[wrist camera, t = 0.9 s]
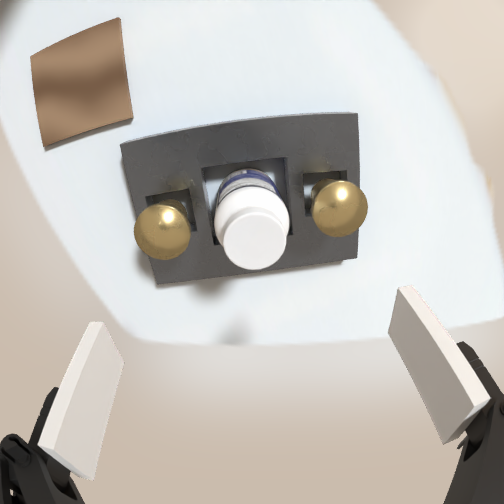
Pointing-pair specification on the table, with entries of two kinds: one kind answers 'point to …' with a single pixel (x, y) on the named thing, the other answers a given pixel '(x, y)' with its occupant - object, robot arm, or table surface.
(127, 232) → the table surface
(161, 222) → the plunger
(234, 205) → the pill bottle
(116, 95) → the coaster
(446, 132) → the table surface
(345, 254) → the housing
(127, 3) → the table surface
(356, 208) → the plunger
